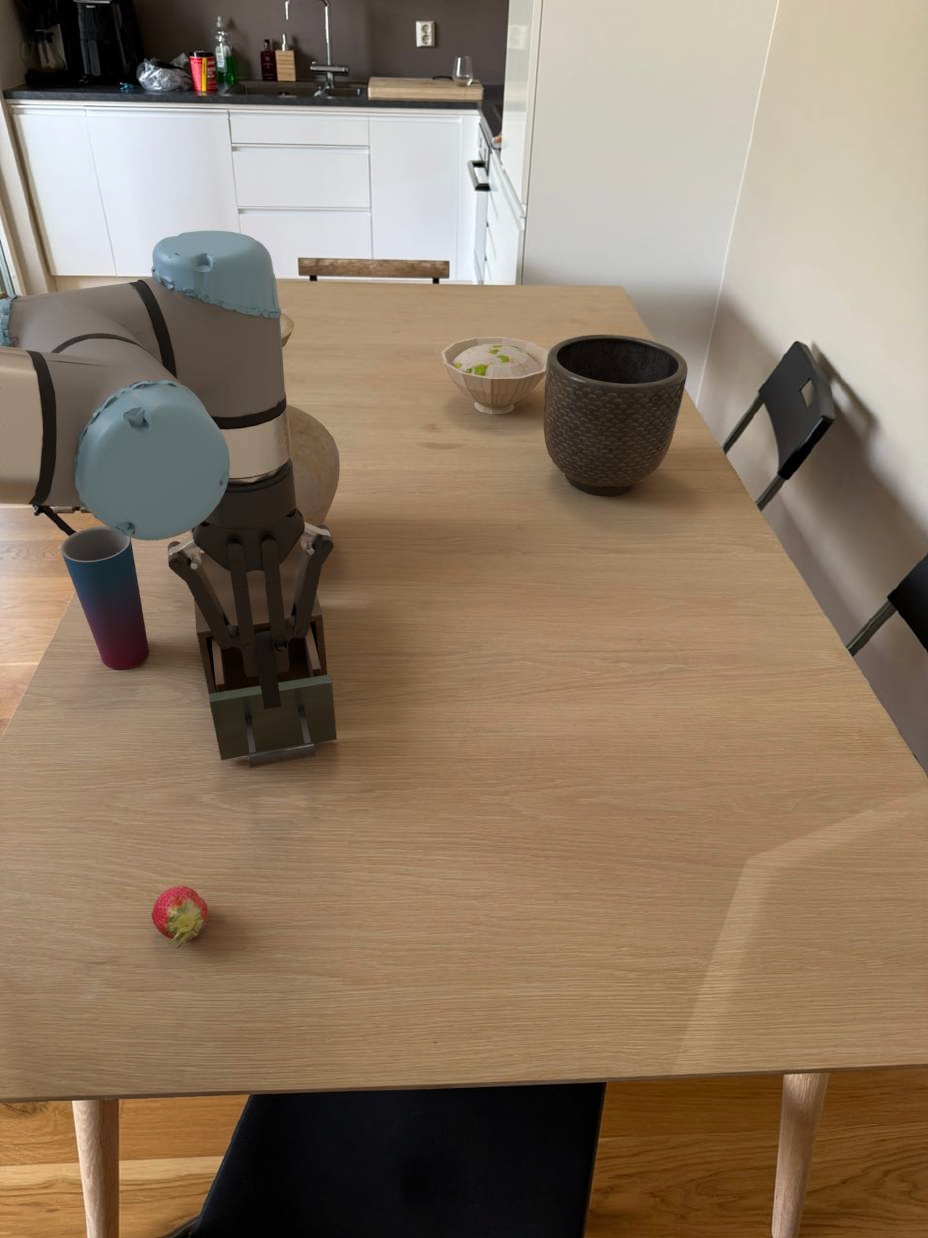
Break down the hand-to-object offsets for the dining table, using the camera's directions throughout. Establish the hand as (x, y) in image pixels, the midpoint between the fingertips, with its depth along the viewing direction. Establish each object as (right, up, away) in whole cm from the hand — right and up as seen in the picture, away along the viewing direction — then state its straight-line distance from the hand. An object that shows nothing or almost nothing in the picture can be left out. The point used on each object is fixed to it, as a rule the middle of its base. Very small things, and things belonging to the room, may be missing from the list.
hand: (270, 697), depth 80 cm
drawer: (-2, -4, +11) cm, 12 cm away
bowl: (+23, +44, +77) cm, 91 cm away
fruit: (-6, -18, -6) cm, 20 cm away
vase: (-9, +16, +38) cm, 43 cm away
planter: (+38, +28, +57) cm, 74 cm away
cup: (-21, +3, +21) cm, 30 cm away
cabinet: (-6, +3, +22) cm, 23 cm away
